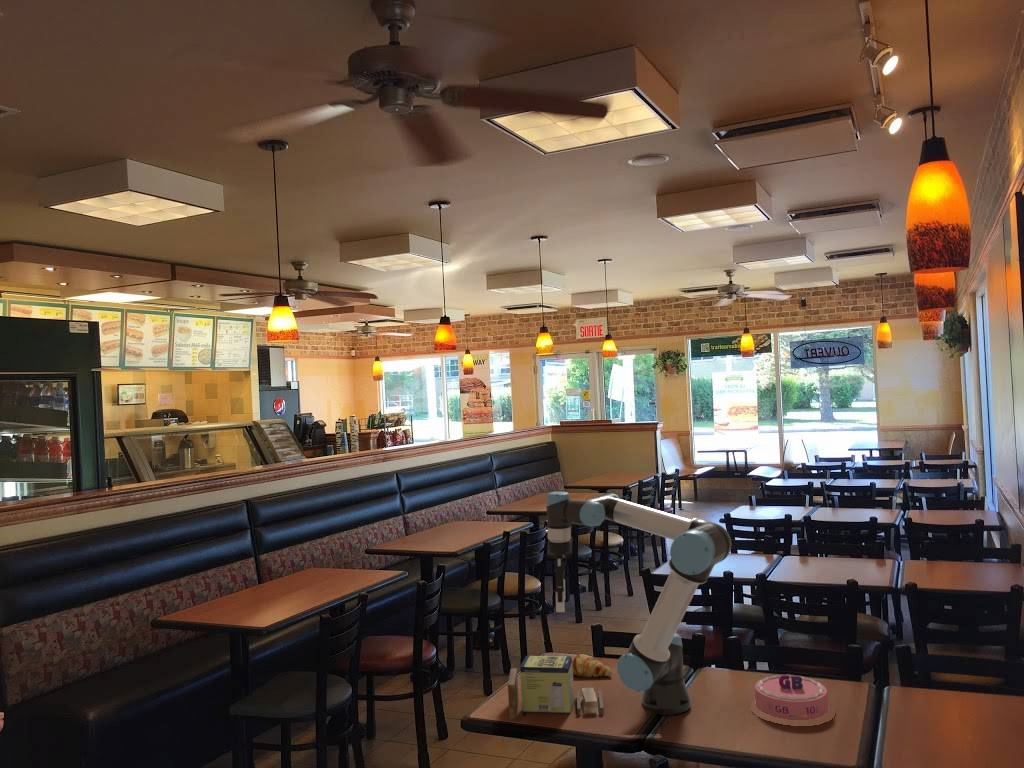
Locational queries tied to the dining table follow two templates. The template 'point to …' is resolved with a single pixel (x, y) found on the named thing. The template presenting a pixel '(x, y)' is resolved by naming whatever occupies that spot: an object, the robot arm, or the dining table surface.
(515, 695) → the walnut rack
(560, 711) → the protein box
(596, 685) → the dining table surface
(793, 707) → the cake
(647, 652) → the robot arm
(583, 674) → the croissant
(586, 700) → the offcut stack
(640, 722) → the dining table surface
